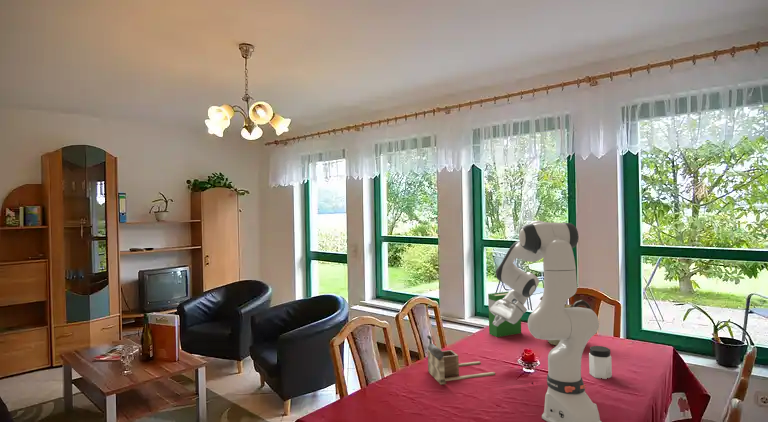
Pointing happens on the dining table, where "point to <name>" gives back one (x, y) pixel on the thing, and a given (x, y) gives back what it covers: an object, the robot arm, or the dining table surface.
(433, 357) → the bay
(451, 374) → the crate
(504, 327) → the green cereal box
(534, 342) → the dining table surface
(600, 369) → the jar
